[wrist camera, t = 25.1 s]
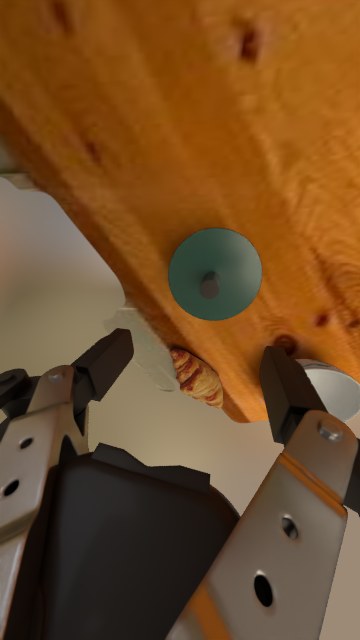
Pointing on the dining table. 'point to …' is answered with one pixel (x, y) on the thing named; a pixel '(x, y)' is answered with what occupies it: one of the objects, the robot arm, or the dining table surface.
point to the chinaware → (334, 388)
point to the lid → (215, 274)
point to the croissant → (197, 378)
